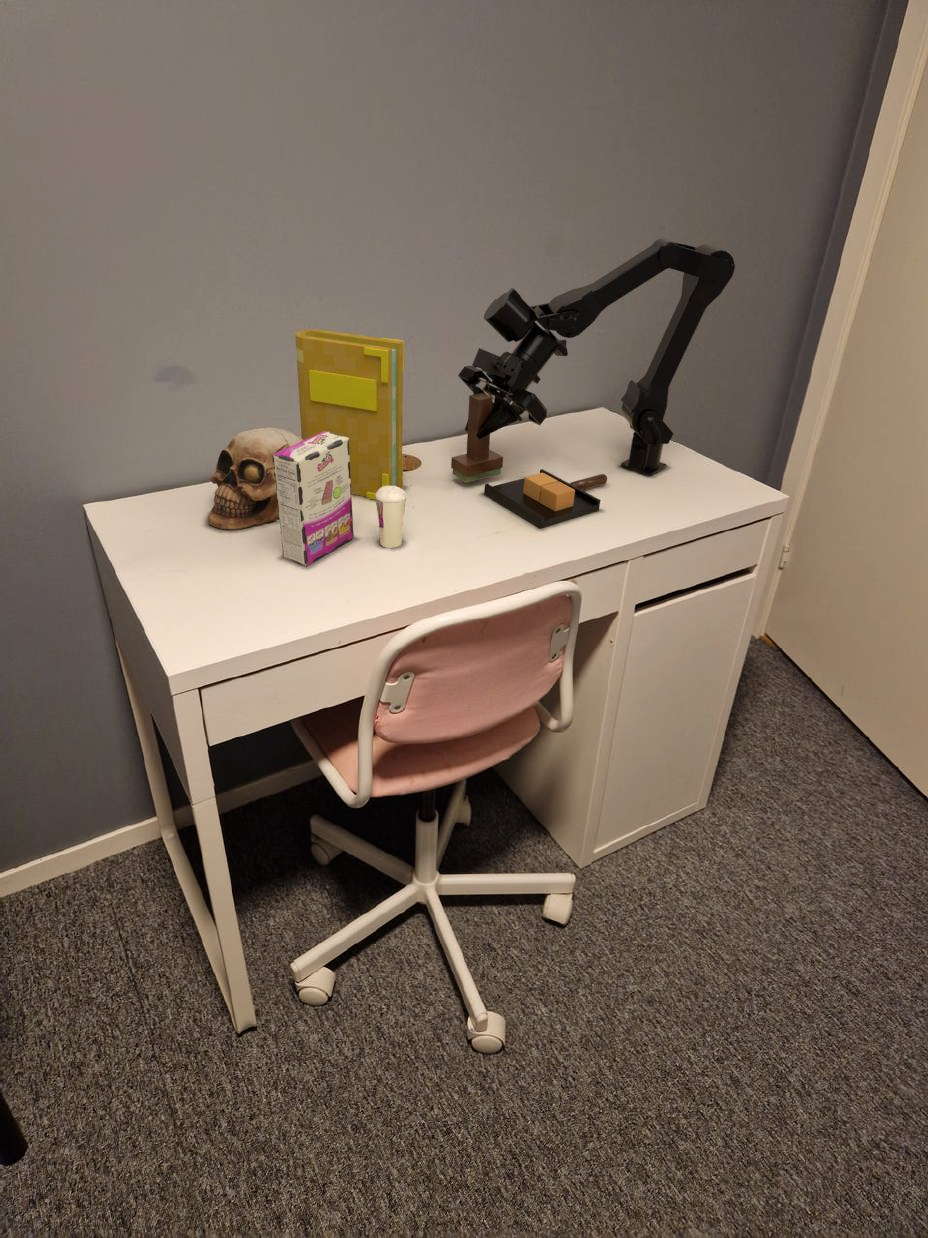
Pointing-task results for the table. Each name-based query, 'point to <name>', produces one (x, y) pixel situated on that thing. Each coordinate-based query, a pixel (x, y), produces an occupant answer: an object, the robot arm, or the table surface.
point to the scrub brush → (477, 445)
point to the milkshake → (391, 515)
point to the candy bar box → (314, 496)
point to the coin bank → (248, 479)
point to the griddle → (539, 513)
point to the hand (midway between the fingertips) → (472, 434)
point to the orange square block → (557, 496)
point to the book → (355, 401)
